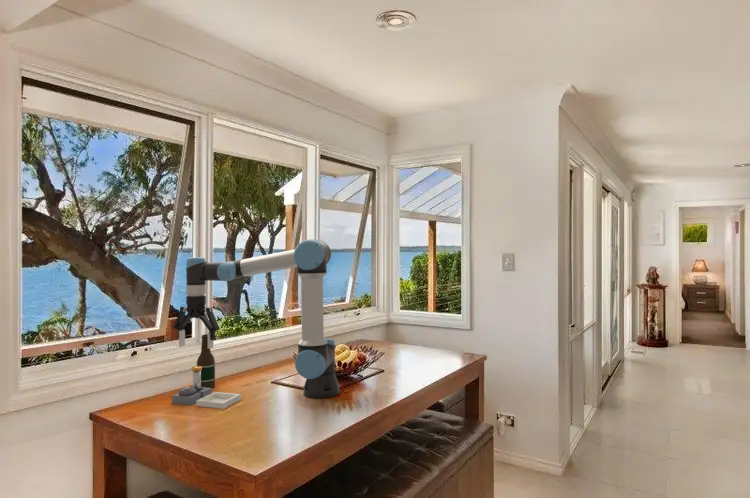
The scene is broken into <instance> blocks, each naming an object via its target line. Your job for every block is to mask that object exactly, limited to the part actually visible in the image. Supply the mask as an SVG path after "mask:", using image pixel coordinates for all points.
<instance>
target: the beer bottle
mask: <svg viewBox="0 0 750 498" xmlns="http://www.w3.org/2000/svg"><path fill="white" fill-rule="evenodd" d="M200 338H201V347H200V348H201V350H200V355H199V356H198V357H197V360H196V366H202V370H201V387H205V388H212V389H215V386H216V362H215V361H216V360H215V357H214V355H213V353H212V351H211V348H210V349H208V333H207V334H206V333H205V334H202V335H201V337H200Z"/></svg>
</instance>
